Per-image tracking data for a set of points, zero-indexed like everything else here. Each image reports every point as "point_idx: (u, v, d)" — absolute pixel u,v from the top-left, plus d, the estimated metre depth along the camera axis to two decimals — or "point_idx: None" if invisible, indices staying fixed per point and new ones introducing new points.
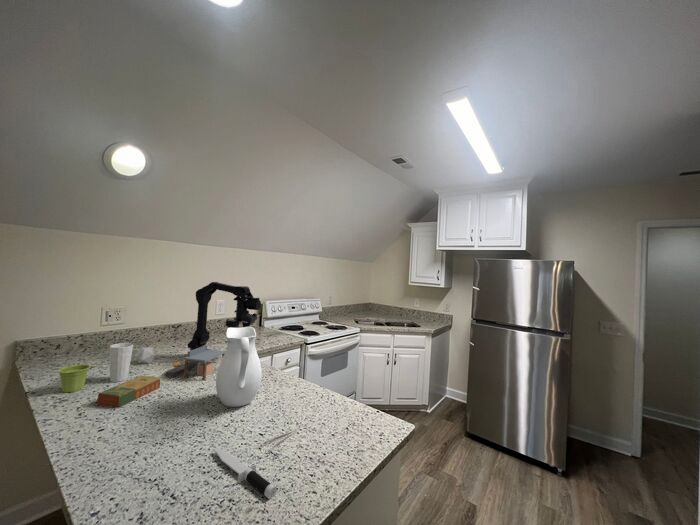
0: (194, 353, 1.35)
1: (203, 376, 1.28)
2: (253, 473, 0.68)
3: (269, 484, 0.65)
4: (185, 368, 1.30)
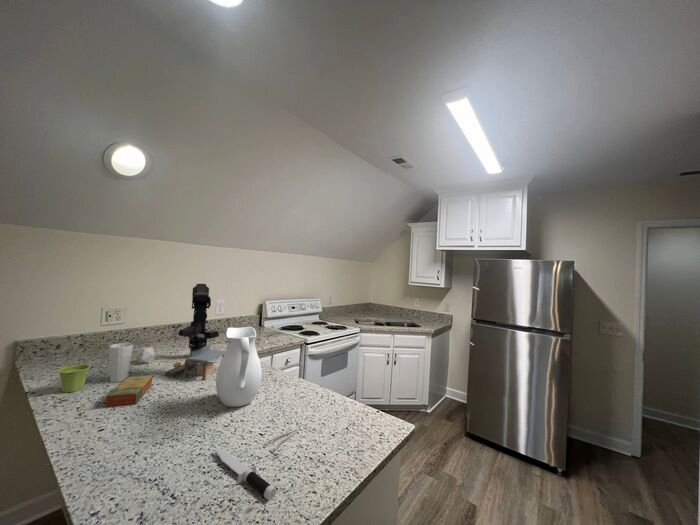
0: (197, 353, 1.34)
1: (203, 376, 1.28)
2: (253, 474, 0.68)
3: (269, 485, 0.65)
4: (185, 368, 1.30)
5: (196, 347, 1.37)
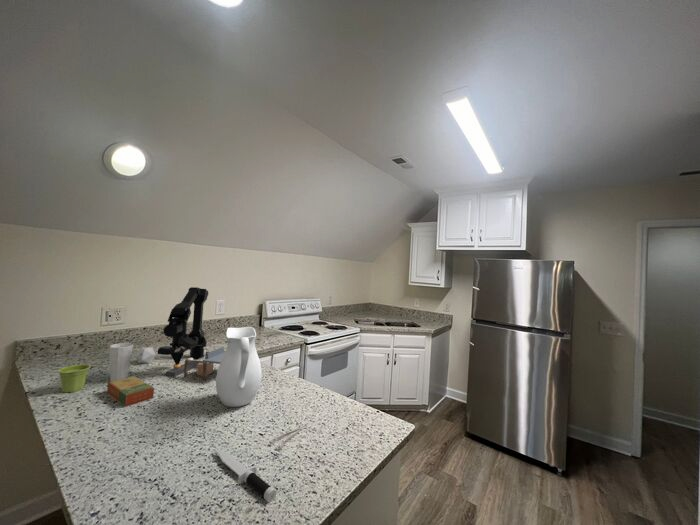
0: (212, 355, 1.33)
1: (203, 376, 1.28)
2: (253, 475, 0.67)
3: (269, 487, 0.64)
4: (185, 368, 1.30)
5: (179, 360, 1.35)
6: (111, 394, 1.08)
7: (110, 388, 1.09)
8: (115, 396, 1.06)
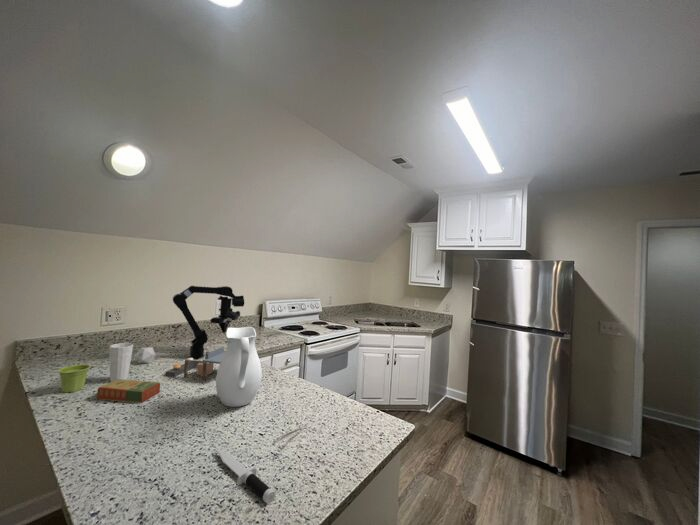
0: (212, 355, 1.33)
1: (203, 376, 1.28)
2: (253, 476, 0.67)
3: (268, 488, 0.64)
4: (185, 368, 1.30)
5: (225, 329, 1.68)
6: (108, 397, 1.06)
7: (105, 392, 1.06)
8: (119, 397, 1.05)
